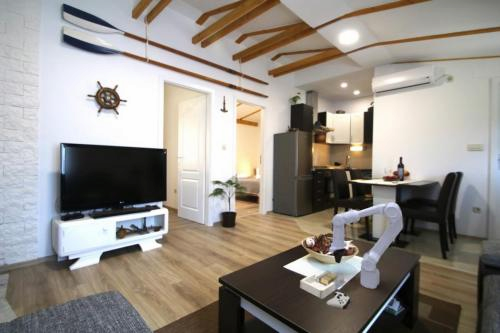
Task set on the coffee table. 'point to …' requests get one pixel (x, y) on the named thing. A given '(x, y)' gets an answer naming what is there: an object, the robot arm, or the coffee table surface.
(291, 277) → the coffee table surface
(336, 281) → the slot block
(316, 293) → the tray
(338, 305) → the gaming controller
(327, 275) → the chip
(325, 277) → the chip
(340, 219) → the robot arm
